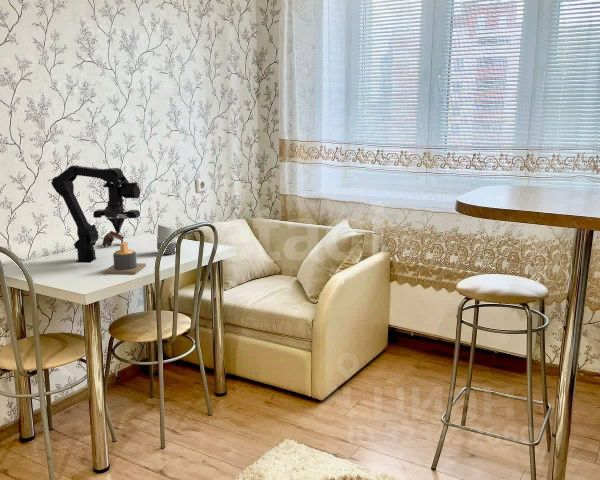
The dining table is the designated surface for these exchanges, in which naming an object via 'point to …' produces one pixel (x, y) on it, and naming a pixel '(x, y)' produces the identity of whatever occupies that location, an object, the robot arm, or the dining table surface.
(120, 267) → the tube on square plate
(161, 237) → the smart speaker
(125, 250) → the orange cap
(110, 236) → the brown curved piece
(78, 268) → the dining table surface
